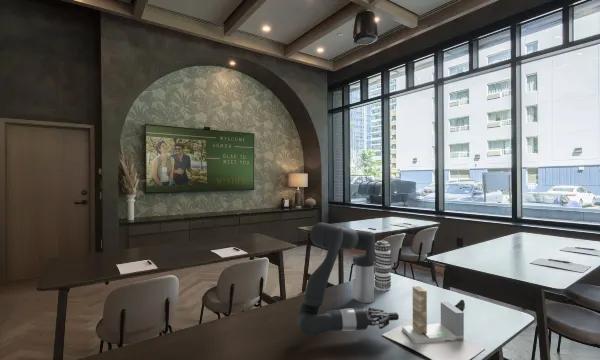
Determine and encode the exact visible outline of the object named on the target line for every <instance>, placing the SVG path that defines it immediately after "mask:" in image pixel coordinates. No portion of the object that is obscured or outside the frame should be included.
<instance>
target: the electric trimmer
mask: <svg viewBox="0 0 600 360" xmlns="http://www.w3.org/2000/svg"><path fill="white" fill-rule="evenodd" d="M465 305H466V302H465V300H464V299H460V301H459V302H457V304H455V305H454V306H455V307H456V308H458V309H459V310H461V311H462V312H463V311H464V308H465Z"/></svg>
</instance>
